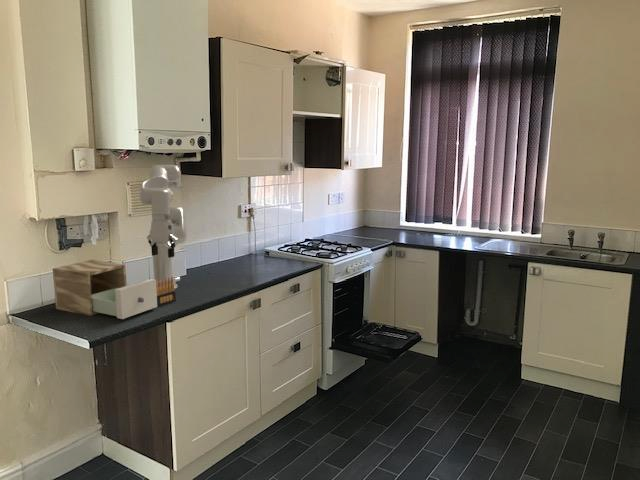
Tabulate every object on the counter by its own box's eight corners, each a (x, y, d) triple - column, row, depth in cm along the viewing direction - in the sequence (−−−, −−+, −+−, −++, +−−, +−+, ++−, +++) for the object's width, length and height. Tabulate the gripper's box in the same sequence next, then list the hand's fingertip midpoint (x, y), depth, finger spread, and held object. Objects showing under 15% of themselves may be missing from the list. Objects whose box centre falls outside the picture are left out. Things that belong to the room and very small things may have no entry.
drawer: (119, 299, 245) (117, 273, 243) (159, 307, 233) (158, 280, 231) (83, 311, 228) (81, 283, 226) (124, 319, 217) (122, 290, 214)
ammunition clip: (157, 307, 238) (156, 280, 236) (154, 306, 239) (153, 280, 237) (176, 301, 247) (174, 275, 245) (173, 300, 248) (172, 275, 246)
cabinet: (94, 297, 253) (91, 259, 250) (127, 303, 243) (125, 264, 240) (56, 308, 236) (52, 268, 233) (90, 316, 226) (87, 274, 223)
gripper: (182, 217, 235) (183, 256, 238) (152, 215, 243) (154, 253, 246) (169, 219, 229) (171, 259, 232) (140, 217, 237) (142, 255, 240)
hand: (163, 256), depth 239 cm, fingers open, 9 cm apart
